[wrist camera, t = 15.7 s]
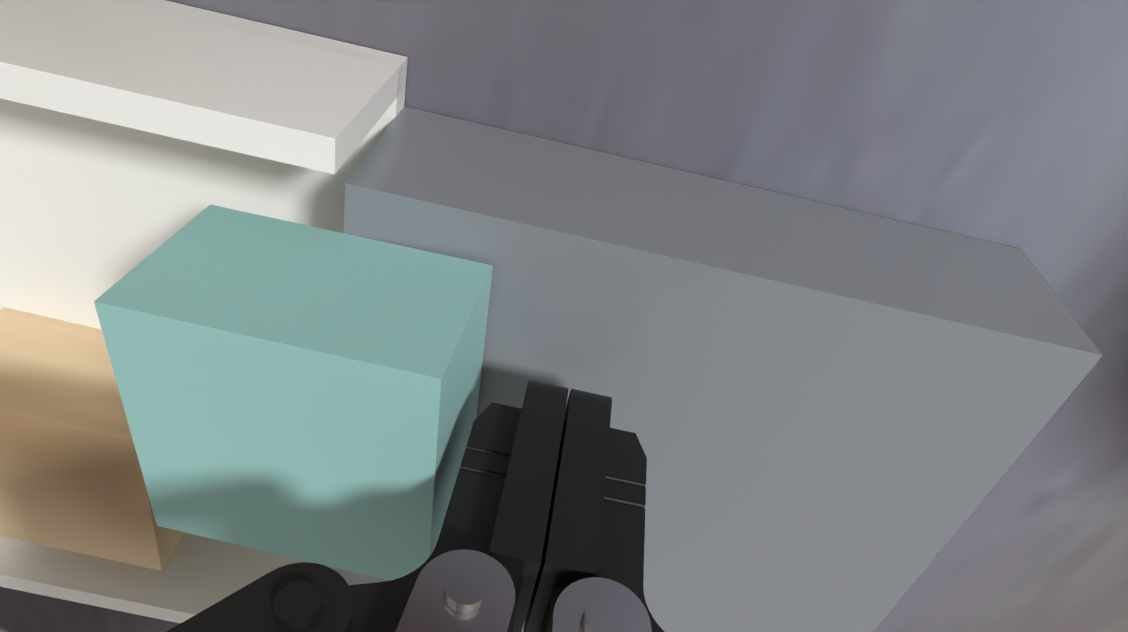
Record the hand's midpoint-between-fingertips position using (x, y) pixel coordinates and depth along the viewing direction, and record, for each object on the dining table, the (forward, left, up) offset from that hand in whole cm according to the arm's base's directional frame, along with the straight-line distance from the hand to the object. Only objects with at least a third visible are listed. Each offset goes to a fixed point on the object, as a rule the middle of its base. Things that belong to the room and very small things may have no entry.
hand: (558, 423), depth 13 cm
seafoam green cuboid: (0, -4, -1) cm, 4 cm away
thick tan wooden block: (+7, -11, -1) cm, 13 cm away
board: (+3, +2, -5) cm, 6 cm away
